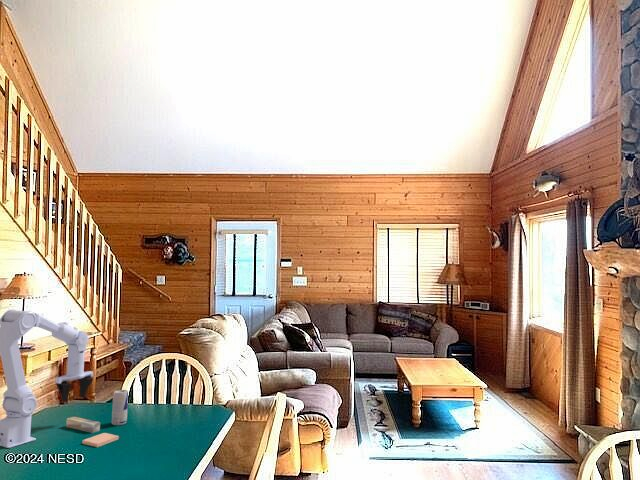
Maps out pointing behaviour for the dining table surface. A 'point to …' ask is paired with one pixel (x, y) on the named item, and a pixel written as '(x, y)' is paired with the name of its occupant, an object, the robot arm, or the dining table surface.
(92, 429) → the grey and tan bar
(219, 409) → the dining table surface
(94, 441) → the tile
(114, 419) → the energy drink
